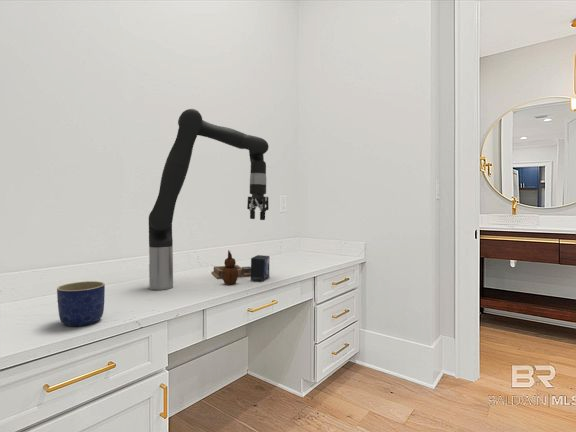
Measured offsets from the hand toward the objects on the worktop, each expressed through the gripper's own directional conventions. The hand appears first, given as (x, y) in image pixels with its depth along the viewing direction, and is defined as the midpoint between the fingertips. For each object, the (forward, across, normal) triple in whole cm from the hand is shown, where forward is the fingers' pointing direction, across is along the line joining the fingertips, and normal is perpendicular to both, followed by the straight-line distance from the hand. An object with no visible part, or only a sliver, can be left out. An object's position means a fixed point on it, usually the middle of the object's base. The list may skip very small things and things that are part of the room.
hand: (257, 219), depth 170 cm
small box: (+28, 0, +2) cm, 28 cm away
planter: (+29, +20, -73) cm, 81 cm away
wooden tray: (+28, -16, -2) cm, 32 cm away
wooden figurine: (+28, +1, -14) cm, 31 cm away
